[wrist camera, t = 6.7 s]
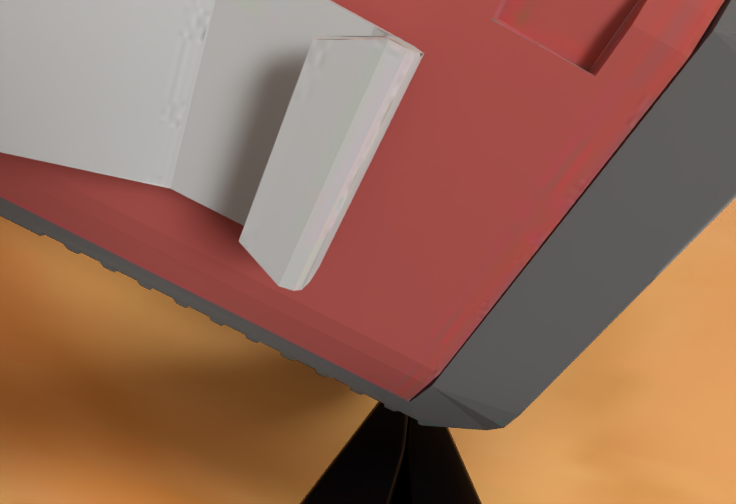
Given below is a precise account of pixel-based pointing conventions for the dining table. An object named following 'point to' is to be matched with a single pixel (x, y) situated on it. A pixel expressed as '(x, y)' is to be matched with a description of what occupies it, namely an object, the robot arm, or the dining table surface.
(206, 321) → the dining table surface
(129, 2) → the walkie-talkie
